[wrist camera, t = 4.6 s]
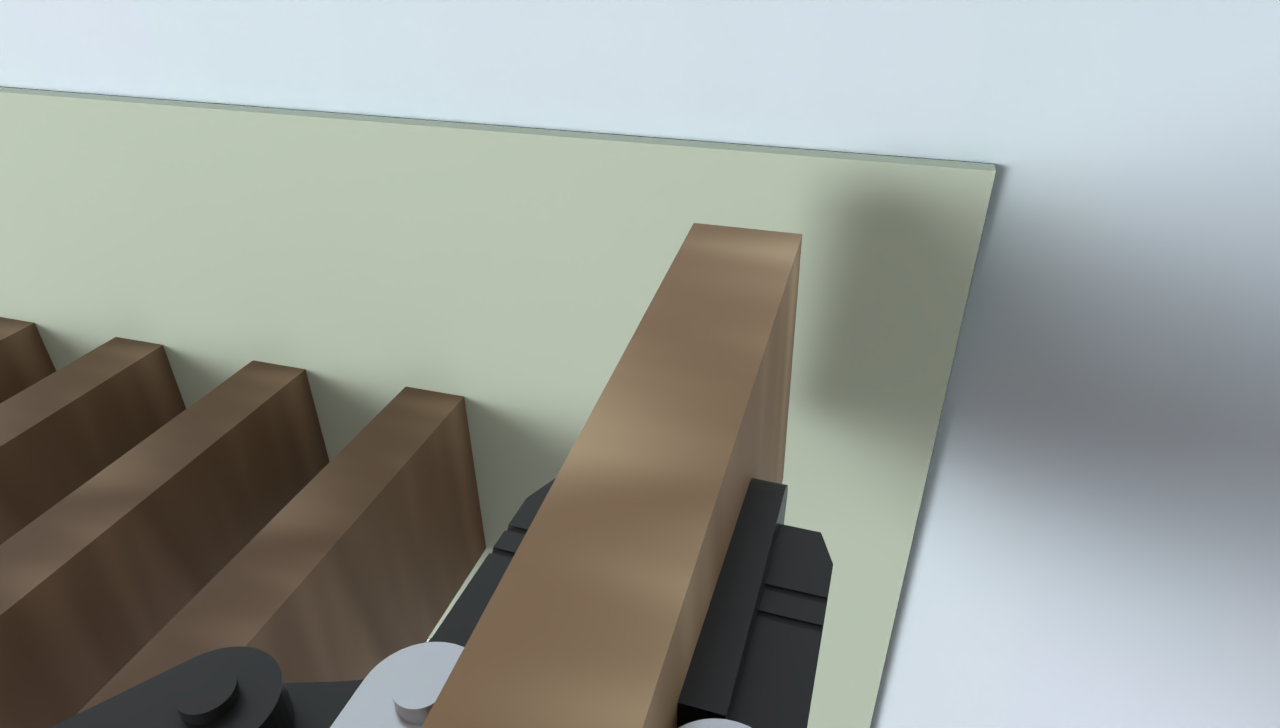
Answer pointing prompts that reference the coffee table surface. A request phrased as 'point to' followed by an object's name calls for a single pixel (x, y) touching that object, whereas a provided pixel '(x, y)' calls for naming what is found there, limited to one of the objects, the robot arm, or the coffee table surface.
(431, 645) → the robot arm
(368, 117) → the mat
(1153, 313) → the coffee table surface
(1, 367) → the domino
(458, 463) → the domino
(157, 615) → the domino
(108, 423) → the domino
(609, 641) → the domino
